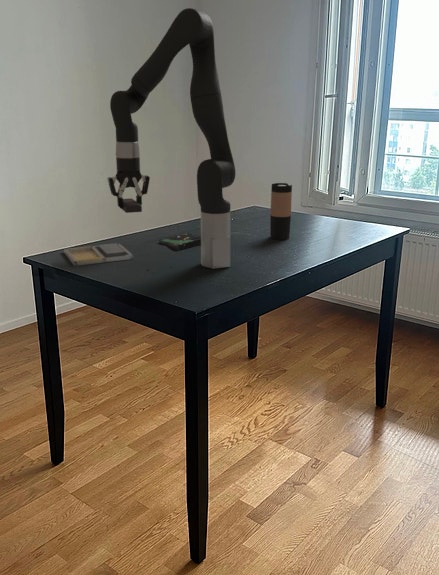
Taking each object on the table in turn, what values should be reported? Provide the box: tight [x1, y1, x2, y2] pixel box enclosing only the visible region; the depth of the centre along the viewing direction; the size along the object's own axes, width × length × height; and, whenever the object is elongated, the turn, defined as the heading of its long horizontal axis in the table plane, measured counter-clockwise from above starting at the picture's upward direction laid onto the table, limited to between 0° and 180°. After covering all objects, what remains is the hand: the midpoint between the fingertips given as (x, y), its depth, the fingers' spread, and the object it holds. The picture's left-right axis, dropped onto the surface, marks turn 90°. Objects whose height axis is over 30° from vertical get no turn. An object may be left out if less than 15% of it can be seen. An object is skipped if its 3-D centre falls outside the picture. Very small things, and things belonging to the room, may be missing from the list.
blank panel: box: [97, 242, 125, 258], centre depth 193 cm, size 12×6×2 cm, turn 25°
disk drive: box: [158, 232, 201, 252], centre depth 210 cm, size 10×3×15 cm
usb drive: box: [121, 197, 143, 214], centre depth 194 cm, size 5×12×3 cm, turn 21°
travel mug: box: [269, 182, 293, 241], centre depth 217 cm, size 8×8×20 cm
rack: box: [63, 242, 134, 267], centre depth 191 cm, size 17×19×2 cm
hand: (130, 207), depth 193 cm, fingers closed on usb drive, 5 cm apart
